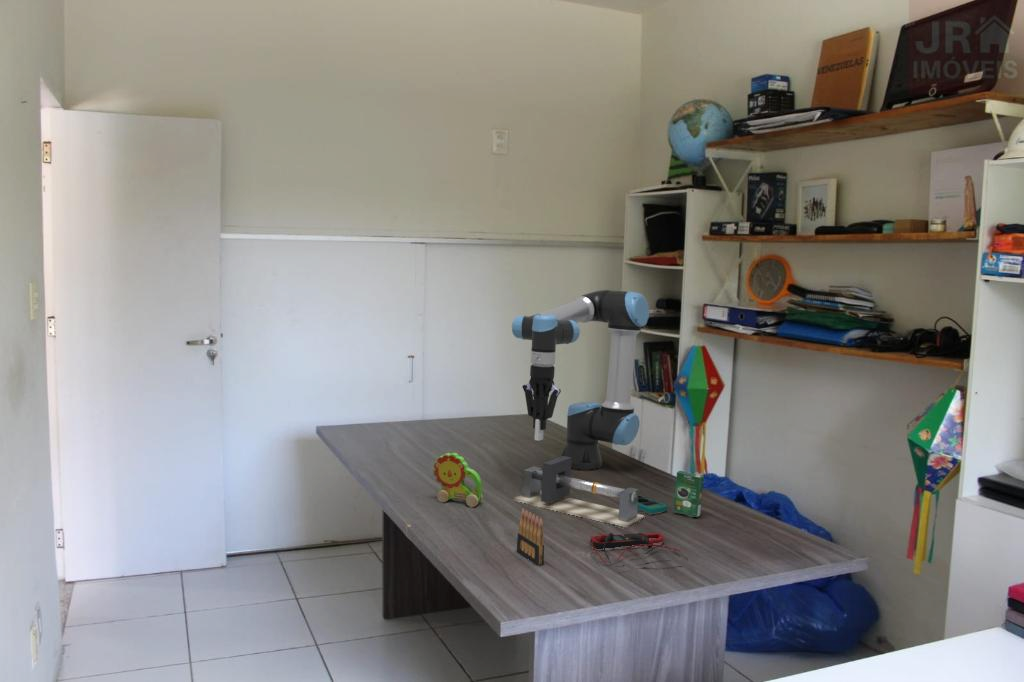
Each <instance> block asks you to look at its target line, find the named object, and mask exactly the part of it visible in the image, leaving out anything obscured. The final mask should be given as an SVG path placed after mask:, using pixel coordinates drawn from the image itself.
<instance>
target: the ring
mask: <svg viewBox="0 0 1024 682" xmlns="http://www.w3.org/2000/svg"><path fill="white" fill-rule="evenodd" d="M571 459H572V457H567V456H562V455H561V456H559V457H556V458H553V459H550V460H547V461H544V462H542V470H541V471H542V481H541V491H542V492H541V501H542V502H546V503H551V502H554V501H556V500H558V499H561V498H563V497H569V496H570V495H571V494H570V493H571V487H567V486H562V485H558V484H556V479H557V474H558V475H563V476H567V477H571V476H572V475H571V473H572V469H571Z"/></svg>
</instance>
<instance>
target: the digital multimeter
mask: <svg viewBox="0 0 1024 682" xmlns="http://www.w3.org/2000/svg"><path fill="white" fill-rule="evenodd" d="M618 501H619V502H620V499H618ZM638 509H641V510H643V511H645V512H647V513H657V512H662V511H666V510H667V511H668V506H667V505H666V504H665V503H662V502H660V501H657V500H654V499H651V498H648V497H647V496H643V495H641V494H639V493H638Z"/></svg>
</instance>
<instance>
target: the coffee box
mask: <svg viewBox="0 0 1024 682" xmlns="http://www.w3.org/2000/svg"><path fill="white" fill-rule="evenodd" d="M704 478H705V476H704V475H701V474H696V473H692V472H687V471H683V470H679V471H677V472H676V478H675V479H676V480H675V491H674V501H673V512H678V513H682V514H687V515H692V516H699V515H700V516H701V508H702V501H703V500H702V499H703V487H704Z"/></svg>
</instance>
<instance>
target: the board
mask: <svg viewBox="0 0 1024 682" xmlns="http://www.w3.org/2000/svg"><path fill="white" fill-rule="evenodd" d="M541 492H542V490H541V491H540V494H539V495H537V496H534V497H532V498H527V497H523V496H522V494H520V495H517V496H515V497H514V498H513V501H514V502H516V501H517V503H520V502H522V503H521V504H524V503H526V504H525V505H528V504H530V505H529V506H532V505H533V507H536V506H537V507H536V508H540V507H541V509H544V508H545V510H548V509H550V510H549V511H552V510H554V511H553V512H556V511H558V512H557V513H560V512H561V513H562V514H564V513H566V514H565V515H568V514H570V515H569V516H572V515H575V516H574V517H576V516H578V517H577V518H580V517H583V518H582V519H584V518H587V519H586V520H588V519H592V520H596V521H600V522H606V523H610V524H615V525H619V526H623V527H627V526H628V525H630V524H632V523H634V522H636V521H638V520H639V519H641V518H643V517H644V518H645V515H643V514H640V513H637V518H635V519H633V520H631V521H629V522H625V521H620V520H618V519H619V508H613V507H609V506H607V505H601V504H599V503H593V502H589V501H585V500H580V499H577V498H571V497H569V496H565V497H563V498H561V499H558V500H556V501H554V502H551V503H546V502H542V501H541ZM561 513H560V514H561ZM592 520H591V521H592ZM596 521H595V522H596ZM600 522H599V523H600Z"/></svg>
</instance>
